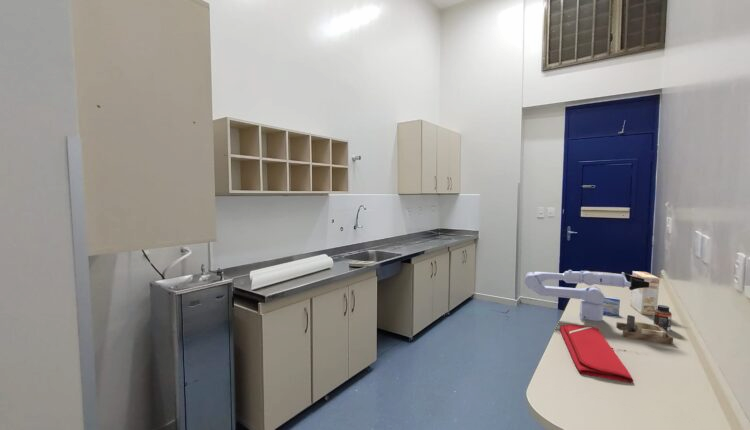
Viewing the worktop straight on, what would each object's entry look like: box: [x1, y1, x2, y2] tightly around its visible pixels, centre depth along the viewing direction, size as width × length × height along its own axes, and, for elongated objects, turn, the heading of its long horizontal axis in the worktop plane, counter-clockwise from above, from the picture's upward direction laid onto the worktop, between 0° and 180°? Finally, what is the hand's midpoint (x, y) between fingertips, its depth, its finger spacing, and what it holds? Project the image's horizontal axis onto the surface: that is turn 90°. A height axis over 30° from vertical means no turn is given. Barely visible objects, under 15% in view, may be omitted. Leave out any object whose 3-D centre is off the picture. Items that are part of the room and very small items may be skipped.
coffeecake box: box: [629, 270, 661, 316], centre depth 181 cm, size 15×7×20 cm, turn 161°
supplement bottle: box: [653, 304, 673, 332], centre depth 154 cm, size 6×6×11 cm
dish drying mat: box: [559, 323, 634, 384], centre depth 132 cm, size 16×41×4 cm, turn 160°
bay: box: [615, 321, 674, 346], centre depth 146 cm, size 19×16×4 cm
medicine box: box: [603, 295, 621, 317], centre depth 175 cm, size 8×4×9 cm, turn 68°
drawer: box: [625, 315, 666, 337], centre depth 145 cm, size 12×9×8 cm
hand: (646, 282), depth 155 cm, fingers open, 7 cm apart
